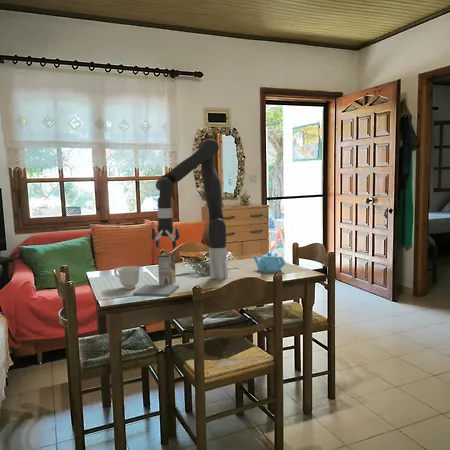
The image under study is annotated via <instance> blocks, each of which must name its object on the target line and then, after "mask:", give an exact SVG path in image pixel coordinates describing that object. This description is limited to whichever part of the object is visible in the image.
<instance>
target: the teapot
mask: <svg viewBox="0 0 450 450" xmlns="http://www.w3.org/2000/svg"><path fill="white" fill-rule="evenodd" d="M253 260H254V261H255V263H256V266H257V270H258V271H259V272H261V273H265V274H266V273H268V274H272V273H273V274H274V273H278V272H280V271H281V270H282V268H283V267H284V266H285V265H286V262H285V258H284V256H278V253H274V254H273V253H272V252H271V251H270V252H266V254H262V255H261V256H260V259H259V257H258V256H257V255H253Z"/></svg>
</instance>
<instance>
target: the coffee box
mask: <svg viewBox="0 0 450 450" xmlns="http://www.w3.org/2000/svg"><path fill="white" fill-rule="evenodd" d="M175 257H176V256H175V252H163V253H161V254H159V255H157V265H158V266H157V270H158V285H174V284H175V283H176V282H177V279H176V258H175Z"/></svg>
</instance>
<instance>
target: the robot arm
mask: <svg viewBox="0 0 450 450" xmlns="http://www.w3.org/2000/svg"><path fill="white" fill-rule="evenodd" d="M219 149H220V146H219V143H218V141H217V140H215V139H212V138H210V139H205V140H202V141H201V142H199V144H198V147H197V150H196V151H195V153H193V154H191V155H190V156H189V157H187V158H186V159H184V160H182V161H181V162H179V163H178V164H177V165H176V166H174V167H173V169H171V170H170V171H168V172H167V173H165V174H163V175H162V176H161V177H160V178H158V179H157V180H156V182H155V188H156V189H157V191H159V197H158V198H157V227H152V228H151V239H152V240H153V241H154V242H155V247H156V248H157V249H159V248H160V238H161V237H169V238H170V239H171V240H172V249H175V248H176V247H177V241H178V240H179V239H180V228H179V227H176V228H174V226H173V224H174V223H173V208H172V207H173V206H172V198H173V190H174V184H175V183H178V182H180V181H181V180H183V179H184V178H186V177H187V176H188V175H189V174H190V173H192V171H193V170H195V169H196V168H197V167H198V166H201V172H202V173H201V175H202V181H203V189H204V190H203V192H204V197H205V201H206V205H207V209H208V248H209V255H208V256H209V278H210V280H219V281H221V280H226V279H228V275H229V274H228V272H229V271H228V259H227V232H226V231H227V229H226V222H225V219H224V214H223V209H222V208H223V207H222V203H223V201H222V200H223V199H222V198H223V197H222V196H223V195H222V193H223V192H222V186H221V185H222V184H221V180H220V177H219V174H218V172H217V169H216V166H215V160H214V159H215V158H214V157H215V156H216V155H217V154H218V153H219ZM157 232H158V234H157Z"/></svg>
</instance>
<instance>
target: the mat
mask: <svg viewBox="0 0 450 450" xmlns="http://www.w3.org/2000/svg"><path fill="white" fill-rule="evenodd" d="M178 289H180V285H179V284H177V285H176V284H175V285H174V284H173V285H159V284H144V285H143V286H141V287H140V288H138V289H137V290H136V291H134V292H133V293H132V295H133V296H146V297H147V296H149V297H152V296H153V297H170V296H171V295H172V294H173V293H174V292H176V291H177V290H178Z"/></svg>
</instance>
